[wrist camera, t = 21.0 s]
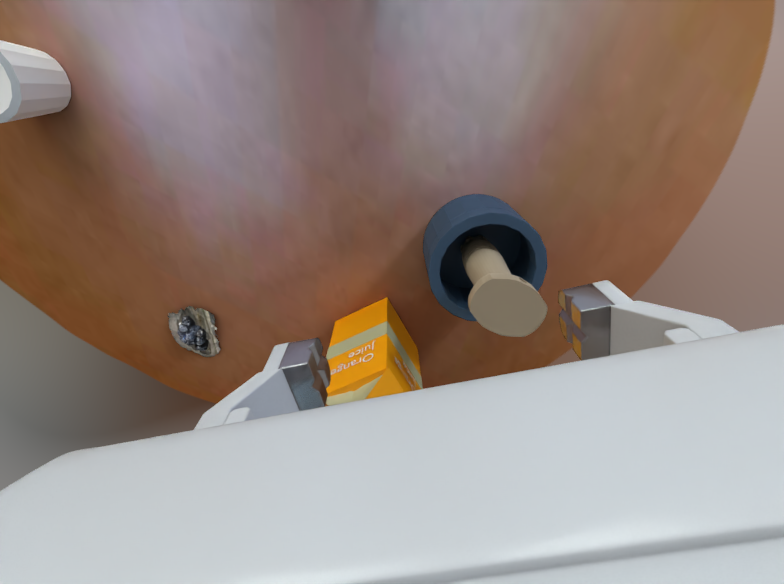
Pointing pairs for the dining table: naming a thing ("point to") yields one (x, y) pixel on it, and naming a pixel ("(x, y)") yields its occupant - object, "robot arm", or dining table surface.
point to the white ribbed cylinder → (30, 83)
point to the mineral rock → (195, 331)
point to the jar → (498, 228)
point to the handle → (499, 292)
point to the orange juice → (371, 356)
